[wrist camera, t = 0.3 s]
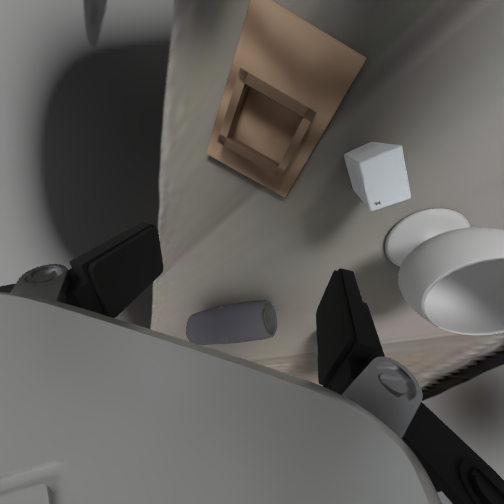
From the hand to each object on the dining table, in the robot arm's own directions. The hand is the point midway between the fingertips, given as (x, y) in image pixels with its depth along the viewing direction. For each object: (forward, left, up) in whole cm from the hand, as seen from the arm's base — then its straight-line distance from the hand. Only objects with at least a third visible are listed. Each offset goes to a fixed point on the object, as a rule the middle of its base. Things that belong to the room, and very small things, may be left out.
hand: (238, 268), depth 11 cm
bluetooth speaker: (+38, +6, -30) cm, 49 cm away
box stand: (-6, -6, -29) cm, 31 cm away
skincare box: (-6, +10, -30) cm, 32 cm away
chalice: (-1, +27, -30) cm, 40 cm away
